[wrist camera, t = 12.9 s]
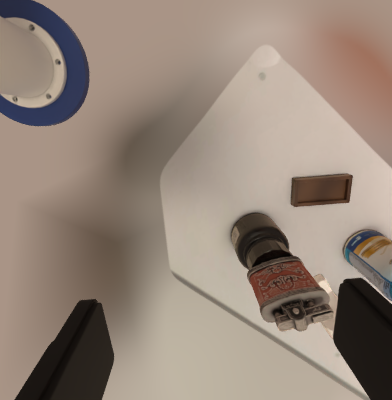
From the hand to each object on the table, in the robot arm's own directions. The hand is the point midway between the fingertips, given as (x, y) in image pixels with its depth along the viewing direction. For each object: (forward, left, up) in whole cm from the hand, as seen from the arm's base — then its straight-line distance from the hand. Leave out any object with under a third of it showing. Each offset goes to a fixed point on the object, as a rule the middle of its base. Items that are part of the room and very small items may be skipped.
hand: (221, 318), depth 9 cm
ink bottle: (+10, -14, -34) cm, 39 cm away
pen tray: (+22, -6, -34) cm, 41 cm away
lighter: (+10, -14, -22) cm, 28 cm away
